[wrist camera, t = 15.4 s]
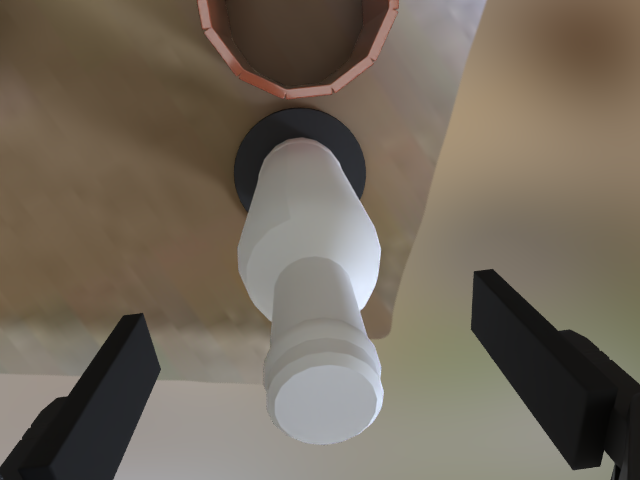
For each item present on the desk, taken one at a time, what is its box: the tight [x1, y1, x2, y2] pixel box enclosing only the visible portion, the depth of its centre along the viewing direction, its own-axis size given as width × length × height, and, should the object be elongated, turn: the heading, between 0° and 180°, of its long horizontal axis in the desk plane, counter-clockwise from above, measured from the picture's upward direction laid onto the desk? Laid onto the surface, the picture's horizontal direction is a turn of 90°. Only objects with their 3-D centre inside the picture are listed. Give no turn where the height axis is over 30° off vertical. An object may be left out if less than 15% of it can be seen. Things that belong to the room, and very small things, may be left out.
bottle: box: [238, 137, 384, 445], centre depth 26 cm, size 8×8×30 cm
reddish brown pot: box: [197, 0, 399, 100], centre depth 30 cm, size 13×13×10 cm
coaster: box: [234, 108, 366, 212], centre depth 40 cm, size 13×13×1 cm
